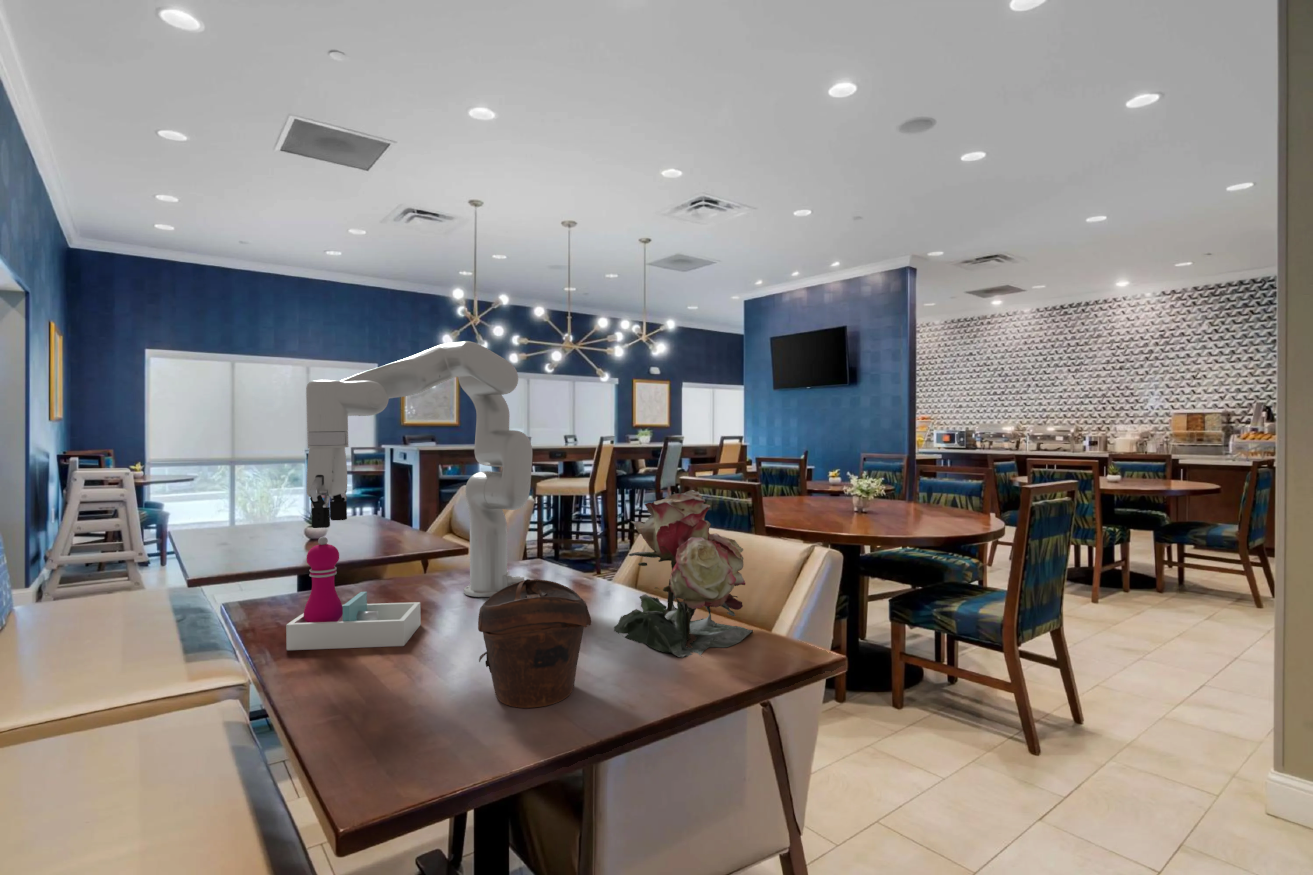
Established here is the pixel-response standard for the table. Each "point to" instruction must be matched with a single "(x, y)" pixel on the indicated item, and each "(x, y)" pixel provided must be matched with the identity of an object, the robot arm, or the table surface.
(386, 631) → the white tray
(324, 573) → the pepper mill
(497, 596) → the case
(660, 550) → the rose bouquet
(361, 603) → the pusher
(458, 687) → the table surface
